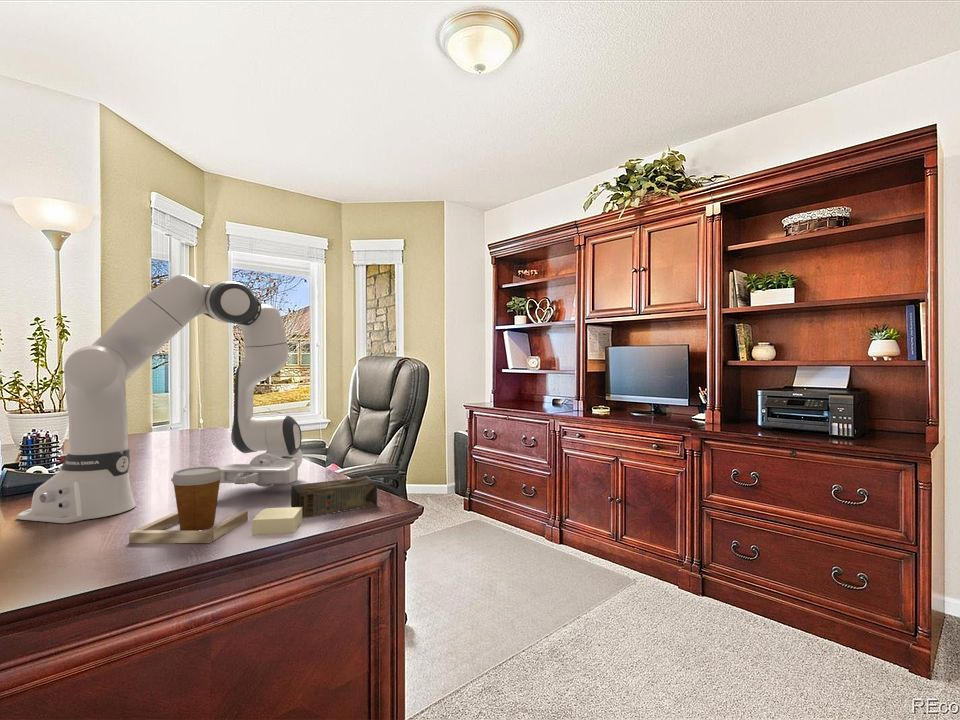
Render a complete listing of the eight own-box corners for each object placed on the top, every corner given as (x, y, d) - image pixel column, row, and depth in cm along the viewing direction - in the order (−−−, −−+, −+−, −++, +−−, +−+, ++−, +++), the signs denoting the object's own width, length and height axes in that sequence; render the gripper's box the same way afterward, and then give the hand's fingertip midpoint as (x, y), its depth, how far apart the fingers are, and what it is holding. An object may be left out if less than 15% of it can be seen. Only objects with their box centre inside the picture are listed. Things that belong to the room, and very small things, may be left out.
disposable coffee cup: (191, 519, 111) (191, 465, 111) (231, 520, 110) (231, 466, 110) (160, 534, 102) (159, 475, 102) (203, 535, 101) (203, 476, 101)
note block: (252, 534, 101) (252, 519, 101) (264, 522, 109) (264, 508, 109) (293, 532, 102) (293, 518, 102) (302, 520, 110) (302, 506, 110)
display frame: (129, 542, 97) (129, 532, 97) (178, 519, 111) (177, 510, 111) (209, 543, 96) (209, 533, 96) (247, 520, 111) (247, 511, 111)
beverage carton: (379, 506, 121) (378, 479, 121) (296, 521, 111) (296, 491, 111) (367, 499, 128) (367, 473, 128) (289, 512, 118) (288, 484, 118)
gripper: (229, 457, 137) (198, 467, 123) (302, 457, 136) (280, 468, 122) (229, 480, 137) (198, 493, 123) (302, 481, 136) (280, 494, 122)
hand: (239, 481), depth 123 cm, fingers closed
